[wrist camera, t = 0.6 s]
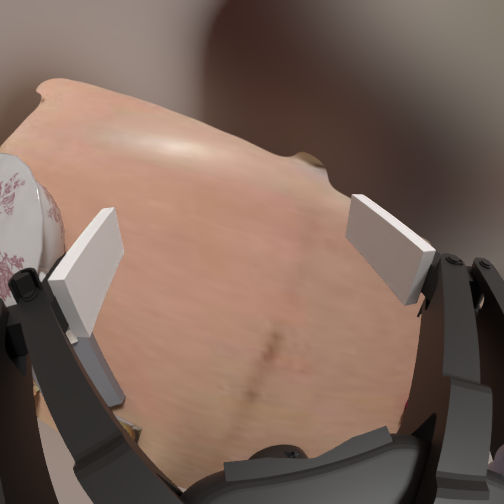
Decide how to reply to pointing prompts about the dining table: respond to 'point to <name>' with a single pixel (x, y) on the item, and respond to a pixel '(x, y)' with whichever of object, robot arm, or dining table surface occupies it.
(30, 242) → the chamber pot
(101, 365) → the socket plate
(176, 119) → the dining table surface
